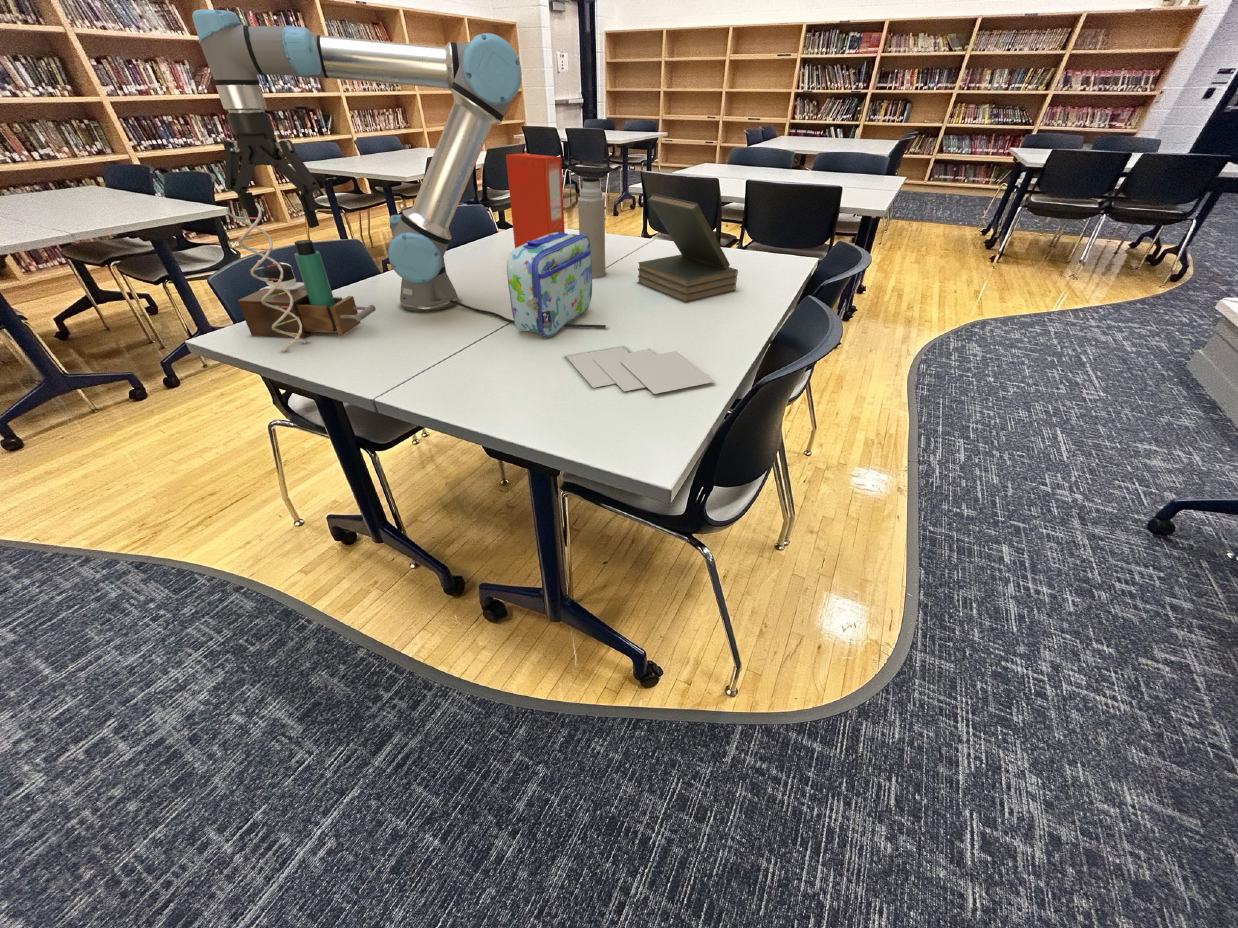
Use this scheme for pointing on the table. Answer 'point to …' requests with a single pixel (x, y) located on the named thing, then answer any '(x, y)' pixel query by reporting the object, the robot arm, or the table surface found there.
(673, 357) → the paper stack
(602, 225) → the thermos bottle
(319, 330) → the drawer
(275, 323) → the dna model
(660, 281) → the book stack
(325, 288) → the bottle
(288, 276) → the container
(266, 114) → the robot arm
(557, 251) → the lunch box
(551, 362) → the table surface
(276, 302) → the cabinet
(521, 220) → the file binder
